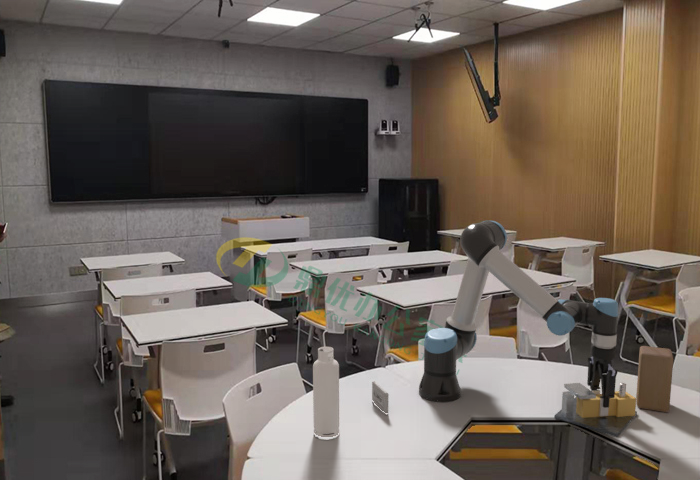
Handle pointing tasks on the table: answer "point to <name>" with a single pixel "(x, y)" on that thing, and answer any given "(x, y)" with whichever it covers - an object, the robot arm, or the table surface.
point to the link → (616, 407)
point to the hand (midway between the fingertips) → (599, 411)
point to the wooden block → (654, 378)
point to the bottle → (326, 393)
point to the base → (600, 419)
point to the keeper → (568, 397)
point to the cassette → (380, 397)
